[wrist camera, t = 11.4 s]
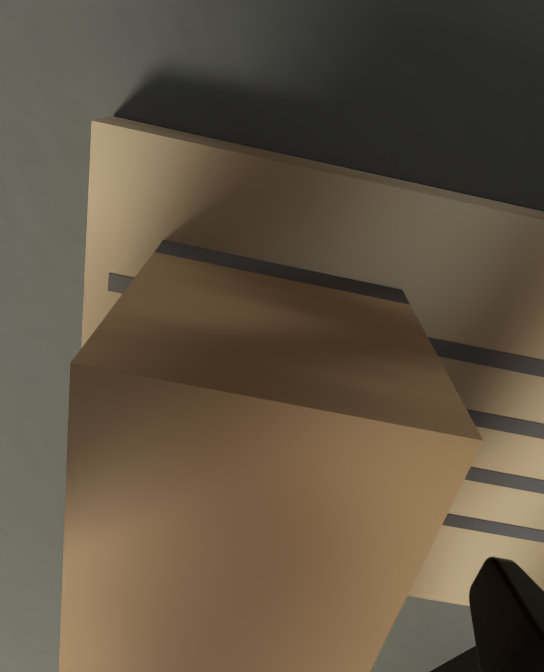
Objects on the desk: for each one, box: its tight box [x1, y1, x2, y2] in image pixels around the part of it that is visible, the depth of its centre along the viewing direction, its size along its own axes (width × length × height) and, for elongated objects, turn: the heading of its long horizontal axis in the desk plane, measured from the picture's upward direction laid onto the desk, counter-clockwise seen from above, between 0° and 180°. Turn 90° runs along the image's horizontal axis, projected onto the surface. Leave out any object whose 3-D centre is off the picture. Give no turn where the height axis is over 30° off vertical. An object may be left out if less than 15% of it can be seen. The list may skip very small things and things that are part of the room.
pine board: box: [81, 116, 544, 606], centre depth 13 cm, size 18×11×1 cm, turn 78°
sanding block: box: [59, 240, 483, 672], centre depth 10 cm, size 5×7×5 cm
